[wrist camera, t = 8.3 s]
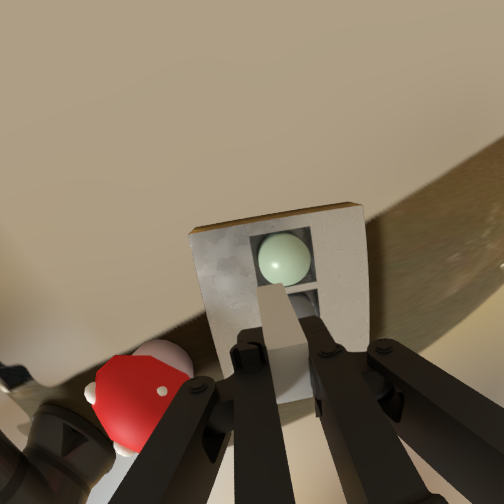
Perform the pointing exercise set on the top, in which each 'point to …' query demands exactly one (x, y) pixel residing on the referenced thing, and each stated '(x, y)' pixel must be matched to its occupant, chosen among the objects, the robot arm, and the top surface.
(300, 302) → the button charcoal
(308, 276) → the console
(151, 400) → the mushroom
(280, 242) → the button sage
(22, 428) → the top surface
